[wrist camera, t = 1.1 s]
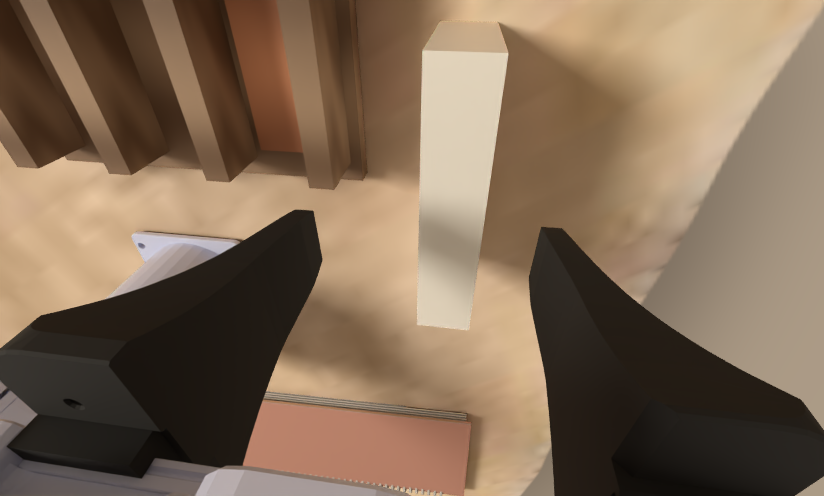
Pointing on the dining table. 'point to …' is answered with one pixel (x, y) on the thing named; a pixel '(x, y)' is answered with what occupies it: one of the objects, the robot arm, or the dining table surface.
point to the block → (456, 163)
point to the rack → (185, 86)
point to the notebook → (362, 442)
